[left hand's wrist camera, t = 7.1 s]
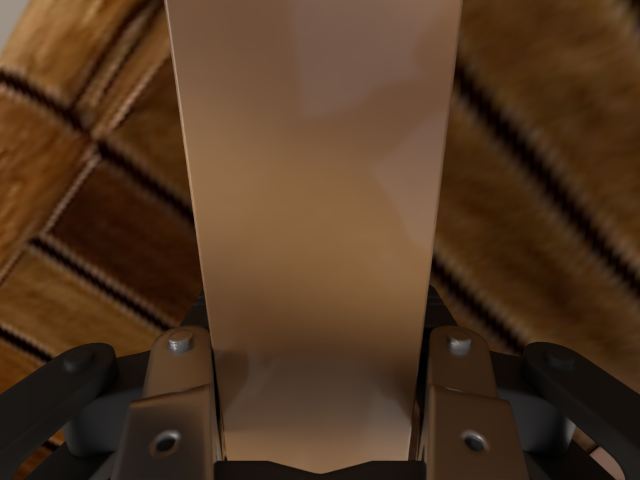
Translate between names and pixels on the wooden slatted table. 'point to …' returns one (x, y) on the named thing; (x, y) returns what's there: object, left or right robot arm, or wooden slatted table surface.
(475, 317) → the wooden slatted table surface
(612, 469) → the anatomical model
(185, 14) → the beam
